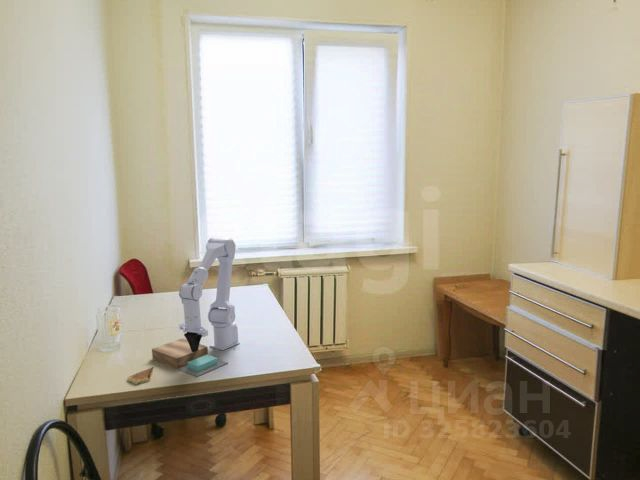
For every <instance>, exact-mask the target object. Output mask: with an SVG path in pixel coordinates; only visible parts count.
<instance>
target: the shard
mask: <svg viewBox="0 0 640 480" xmlns="http://www.w3.org/2000/svg"><path fill="white" fill-rule="evenodd" d="M153 369H154V366H152V367H149V368H147V369H144V370H142V371H140V372H136V373H134V374H131V375H130V376H128V377H127V378H126V380H127V381H128V382H131V383H132V384H135V385H138V384H141V383H146V382H150V381H151V377H152V375H153V373H154V370H153Z"/></svg>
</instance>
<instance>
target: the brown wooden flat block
mask: <svg viewBox="0 0 640 480" xmlns="http://www.w3.org/2000/svg"><path fill="white" fill-rule="evenodd" d="M208 348H209V347H208V346H206V345H203V344H201V343H199V348H198V351H196V352H192V351H191V348H190V345H189V343H188V341H187V339H186V338H183V337H182V338H178V339H177V340H173V341H170V342H168V343H165V344H162V345H159V346H157V347H153V348H151V354H152V355H151V357H152V360H154V361H157V362H160V363H162V364H164V365H166V366H170V367H172V368H174V369H177V370H179V369H178V368H180V367H183V366H185V365H187V364H188V363H187V362H190V361H192V360H195V359H197V358H200V357H202V356H205V355H209V349H208Z"/></svg>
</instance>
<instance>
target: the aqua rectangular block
mask: <svg viewBox="0 0 640 480" xmlns="http://www.w3.org/2000/svg"><path fill="white" fill-rule="evenodd" d="M218 359H219V358H218V357H216V356H213V355H210V354H208V355H205V356H202V357H200V358H197V359H195V360H192V361H190V362H187V363H188V368H190V369H193V370H195V371H201V370H203V369H205V368H208V367H210V366H212V365H215V364H217V363H218Z"/></svg>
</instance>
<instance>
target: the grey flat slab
mask: <svg viewBox="0 0 640 480" xmlns="http://www.w3.org/2000/svg"><path fill="white" fill-rule="evenodd" d="M227 364H229V362H227V361H225V360H222V359H219V358H218V363H217V364H215V365H212V366H210V367H208V368H205V369H203V370H201V371H195V370H193V369H190V368H188V364H187V365H185V366H183V367H180V368H178V369H177V370H180V371H182V372H185V373H187V374H189V375H192V376H194V377H198V378H199V377H200V376H202V375H205V374H207V373H210V372H212V371H214V370H216V369H218V368H219V369H220V367H223V366H225V365H227Z"/></svg>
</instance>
